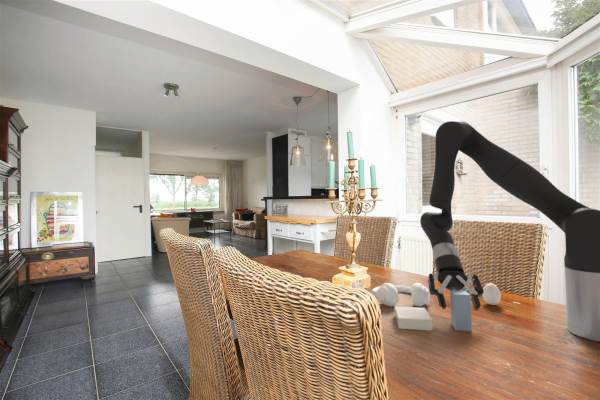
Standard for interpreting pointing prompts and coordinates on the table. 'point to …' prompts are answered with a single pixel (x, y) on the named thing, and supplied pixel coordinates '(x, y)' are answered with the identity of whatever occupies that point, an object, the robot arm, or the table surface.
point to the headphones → (390, 292)
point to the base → (413, 318)
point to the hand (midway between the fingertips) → (460, 308)
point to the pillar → (460, 310)
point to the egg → (491, 294)
